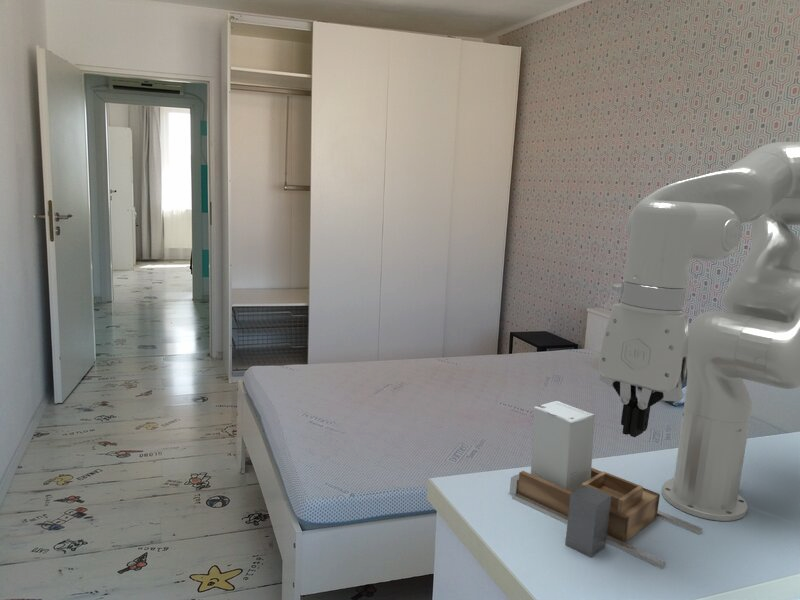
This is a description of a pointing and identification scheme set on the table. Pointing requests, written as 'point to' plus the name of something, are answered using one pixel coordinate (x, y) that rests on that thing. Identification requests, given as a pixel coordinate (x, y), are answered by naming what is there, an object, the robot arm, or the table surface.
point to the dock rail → (609, 539)
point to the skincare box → (562, 444)
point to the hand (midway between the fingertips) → (632, 433)
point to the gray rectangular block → (588, 520)
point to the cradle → (627, 499)
